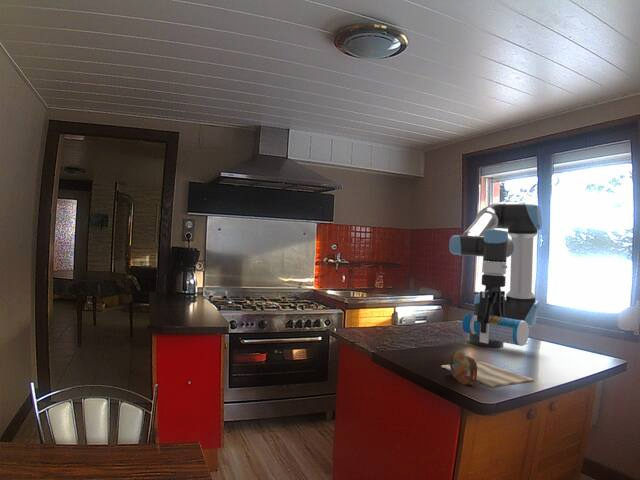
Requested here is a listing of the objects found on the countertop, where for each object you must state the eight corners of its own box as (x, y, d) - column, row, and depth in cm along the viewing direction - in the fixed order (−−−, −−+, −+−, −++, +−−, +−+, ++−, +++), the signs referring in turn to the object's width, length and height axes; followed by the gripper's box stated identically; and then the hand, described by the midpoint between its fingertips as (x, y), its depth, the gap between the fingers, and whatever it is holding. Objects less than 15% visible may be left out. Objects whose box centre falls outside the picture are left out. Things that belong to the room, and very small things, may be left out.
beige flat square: (480, 362, 160) (481, 361, 160) (534, 381, 140) (534, 379, 140) (441, 367, 150) (441, 365, 150) (492, 387, 131) (492, 385, 131)
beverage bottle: (517, 344, 133) (458, 333, 148) (527, 348, 138) (470, 336, 153) (521, 318, 134) (463, 309, 149) (531, 323, 140) (474, 313, 155)
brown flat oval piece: (448, 373, 143) (450, 348, 144) (457, 373, 144) (459, 348, 144) (468, 388, 128) (469, 360, 129) (478, 389, 129) (479, 361, 129)
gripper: (490, 275, 135) (486, 347, 134) (517, 275, 149) (514, 340, 149) (468, 273, 140) (464, 342, 140) (496, 273, 155) (493, 336, 154)
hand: (490, 341), depth 144 cm, fingers closed on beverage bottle, 8 cm apart
